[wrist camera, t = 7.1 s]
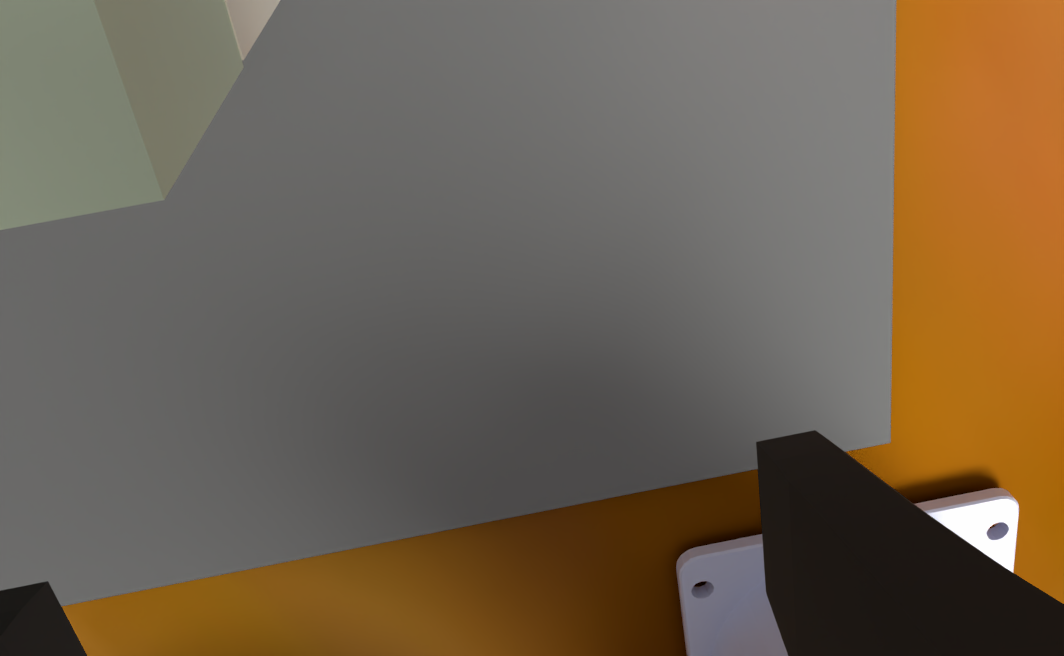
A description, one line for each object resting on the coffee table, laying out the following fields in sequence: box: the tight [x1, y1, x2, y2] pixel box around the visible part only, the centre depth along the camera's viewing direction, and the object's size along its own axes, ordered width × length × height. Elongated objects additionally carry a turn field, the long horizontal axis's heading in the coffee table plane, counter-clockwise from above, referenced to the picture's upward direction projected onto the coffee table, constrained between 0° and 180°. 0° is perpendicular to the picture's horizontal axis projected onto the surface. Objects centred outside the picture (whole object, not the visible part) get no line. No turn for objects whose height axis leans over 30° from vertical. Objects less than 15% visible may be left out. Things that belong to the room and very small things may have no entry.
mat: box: [0, 0, 896, 606], centre depth 17 cm, size 20×22×1 cm
